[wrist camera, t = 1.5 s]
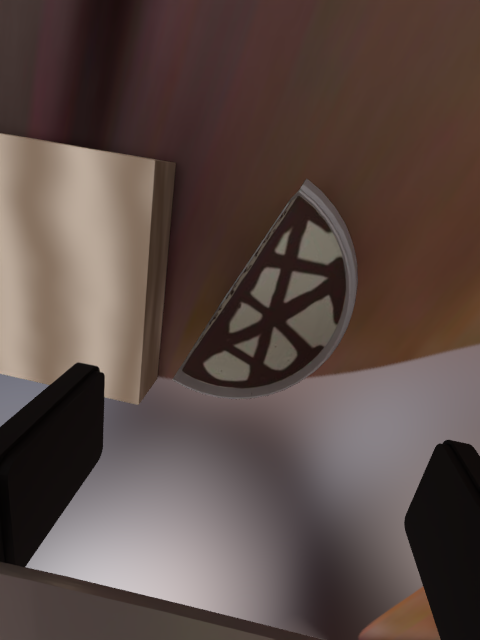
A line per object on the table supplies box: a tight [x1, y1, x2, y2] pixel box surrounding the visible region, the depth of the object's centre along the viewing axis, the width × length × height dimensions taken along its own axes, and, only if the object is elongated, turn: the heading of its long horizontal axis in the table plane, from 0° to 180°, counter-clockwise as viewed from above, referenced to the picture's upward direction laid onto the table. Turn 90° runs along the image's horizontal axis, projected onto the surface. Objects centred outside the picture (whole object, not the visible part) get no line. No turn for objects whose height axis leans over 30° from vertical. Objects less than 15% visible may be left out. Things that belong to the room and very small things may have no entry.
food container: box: [173, 179, 358, 399], centre depth 22 cm, size 12×6×10 cm, turn 147°
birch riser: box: [0, 133, 176, 405], centre depth 27 cm, size 14×17×4 cm
